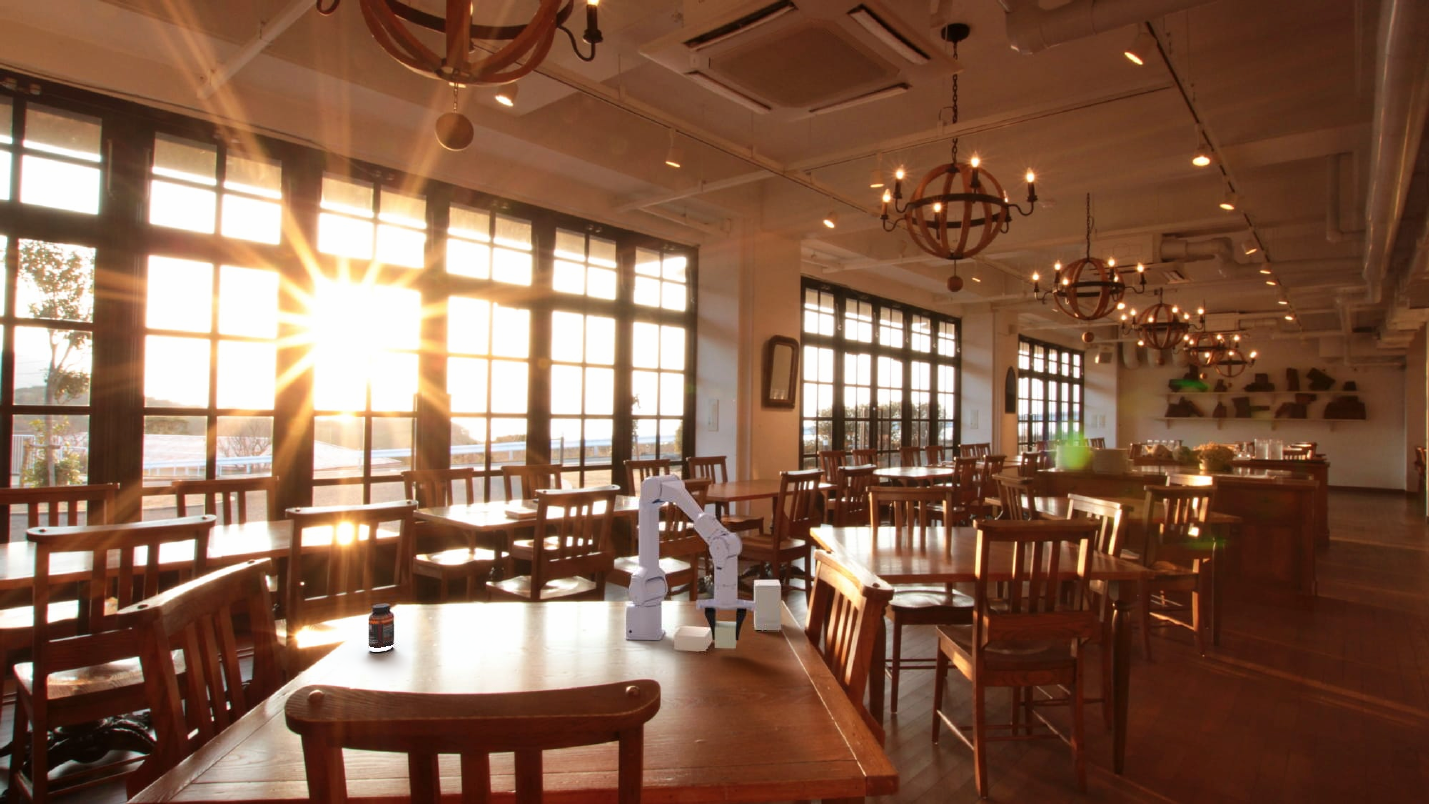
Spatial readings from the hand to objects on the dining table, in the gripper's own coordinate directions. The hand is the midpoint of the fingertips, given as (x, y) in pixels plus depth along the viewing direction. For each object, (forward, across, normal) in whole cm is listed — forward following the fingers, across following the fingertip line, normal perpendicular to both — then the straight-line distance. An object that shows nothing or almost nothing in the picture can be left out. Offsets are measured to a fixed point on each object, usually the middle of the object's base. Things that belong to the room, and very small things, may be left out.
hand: (725, 638), depth 176 cm
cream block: (+5, -9, +8) cm, 13 cm away
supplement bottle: (+5, -88, -1) cm, 88 cm away
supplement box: (+5, +10, +25) cm, 27 cm away
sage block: (+2, 0, 0) cm, 2 cm away
